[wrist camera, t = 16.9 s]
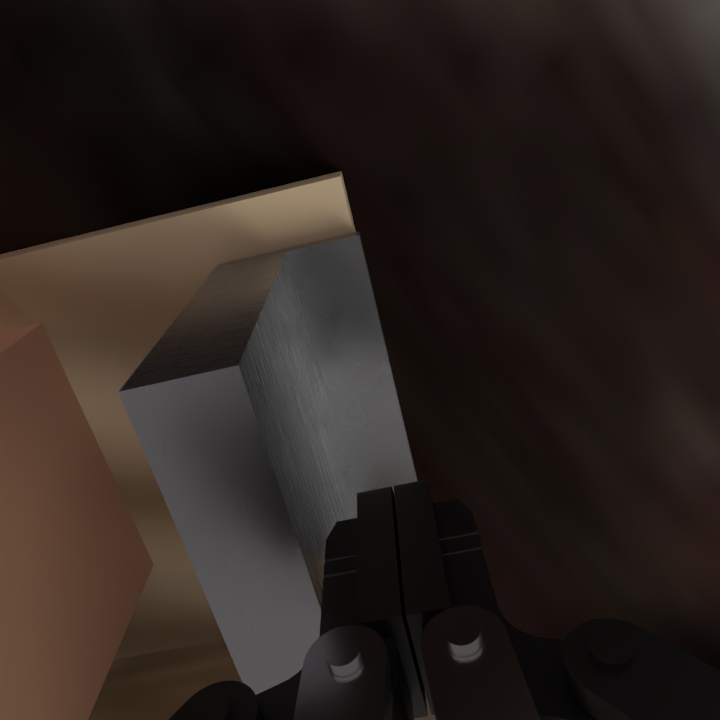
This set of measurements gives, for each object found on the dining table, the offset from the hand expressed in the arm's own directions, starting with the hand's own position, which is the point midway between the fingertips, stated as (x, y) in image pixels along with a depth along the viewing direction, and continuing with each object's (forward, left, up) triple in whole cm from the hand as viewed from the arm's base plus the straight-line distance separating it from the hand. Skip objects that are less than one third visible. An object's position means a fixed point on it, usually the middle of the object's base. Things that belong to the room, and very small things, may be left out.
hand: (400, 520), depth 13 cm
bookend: (0, +3, -6) cm, 7 cm away
